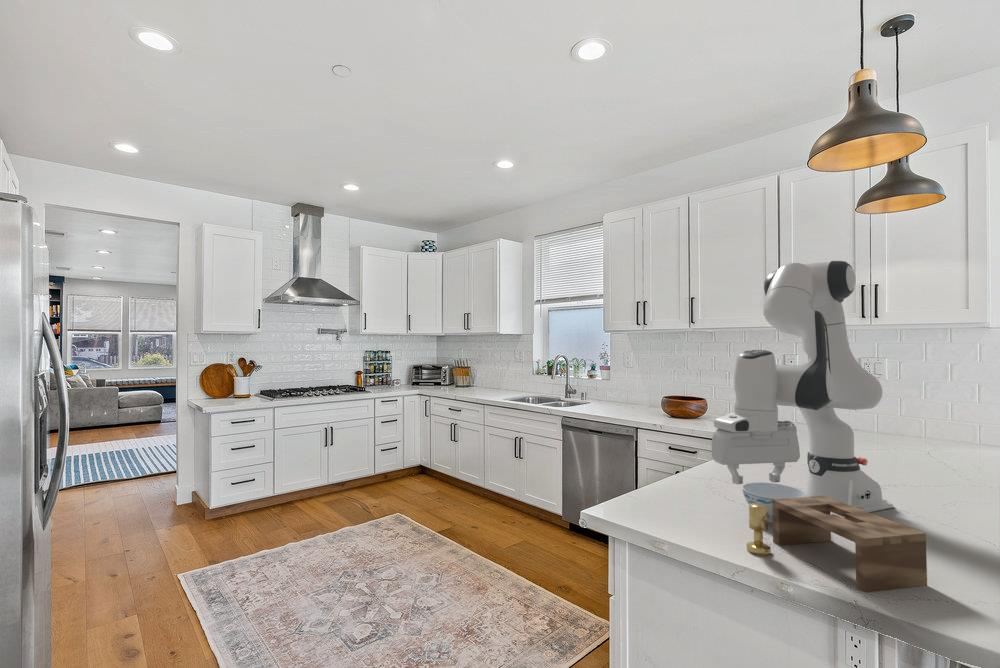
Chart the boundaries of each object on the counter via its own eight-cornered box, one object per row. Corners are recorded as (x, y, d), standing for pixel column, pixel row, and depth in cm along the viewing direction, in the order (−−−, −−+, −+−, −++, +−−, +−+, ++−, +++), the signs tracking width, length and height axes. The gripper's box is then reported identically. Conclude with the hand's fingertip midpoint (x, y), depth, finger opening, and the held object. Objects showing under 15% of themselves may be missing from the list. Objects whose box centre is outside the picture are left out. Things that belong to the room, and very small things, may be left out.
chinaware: (732, 509, 138) (732, 482, 138) (786, 509, 137) (786, 482, 138) (759, 529, 123) (758, 499, 123) (820, 530, 122) (819, 499, 123)
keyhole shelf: (773, 541, 115) (772, 499, 116) (824, 537, 118) (823, 495, 118) (865, 592, 92) (864, 538, 92) (927, 585, 94) (925, 533, 95)
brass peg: (760, 546, 113) (759, 502, 113) (775, 554, 108) (774, 508, 109) (742, 547, 112) (741, 503, 112) (756, 556, 108) (755, 510, 108)
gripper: (785, 418, 116) (786, 477, 115) (707, 420, 112) (707, 480, 112) (806, 422, 110) (807, 484, 109) (724, 424, 106) (725, 488, 106)
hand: (756, 482), depth 111 cm, fingers open, 8 cm apart
